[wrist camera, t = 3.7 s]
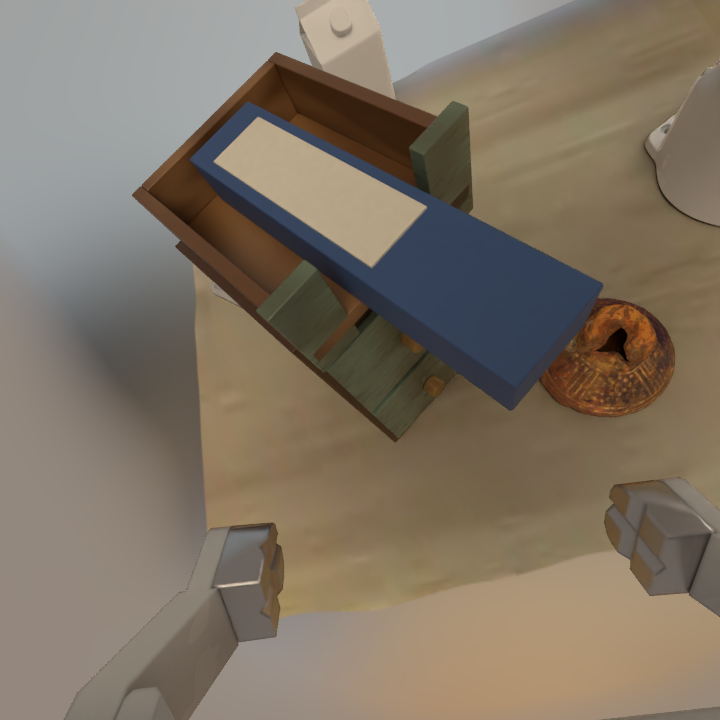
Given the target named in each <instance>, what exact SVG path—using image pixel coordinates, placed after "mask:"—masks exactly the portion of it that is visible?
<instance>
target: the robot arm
mask: <svg viewBox="0 0 720 720" xmlns="http://www.w3.org/2000/svg"><path fill="white" fill-rule="evenodd" d="M645 148H646V150H647V151H648V153H649V154H650V156H651V157H652V158H653V160H654V161H655V163H656V169H657V179H658V183H659V186H660V188H661V190H662V192H663V194H664V195H665V197H666V198H667V199H668V200H669V201H670V202H671V203H672V204H673V205H674V206H675V207H676V208H678V209H679V210H680V211H682V212H683V213H685V214H687V215H689V216H691V217H693V218H695V219H697V220H700V221H703V222H706V223H709V224H713V225H717V226H720V59H719V60H718V62H717V63H716V65H715V66H714V67H708V68H707V69H706V70H705V71H704V72H703V74H702V75H701V76H700V77H698V78H697V79H696V80H695V81H694V83H693V84H692V86H691V88H690V89H689V91H688V93H687V95H686V97H685V99H684V101H683V103H682V105H681V106H680V108H679V110H678V112H677V113H676V114H674V115H673V116H672V117H671V118H669V119H668V120H667V121H666V122H664V123H663V124H662V125H660V126H659V127H658V128H657V129H655V130H654V131H653V132H652V133H651V134H650V135H649V137H648V138H647V140H646V142H645ZM609 498H610V499H611V501H612V502H613V503H614V504H613V505H612V506H611V507H610V508H609V509H608V510H607V511H606V514H605V521H604V523H605V528H606V533H607V535H608V537H609V540H610V542H611V543H612V545H613V546H614V548H615V549H616V551H617V552H618V553H620V554H621V555H623V556H625V557H626V558H628V559H630V570H631V571H632V573H633V574H634V575H635V577H636V578H637V579H638V581H639V582H640V584H641V585H642V586H643V588H644V589H645V590H646V592H647V593H648V594H649V596H655V595H668V594H680V593H689V596H691V597H692V598H694V599H695V600H697V601H698V602H699V603H701V604H702V605H704V606H705V607H706V608H708V609H709V610H711V611H712V612H714V613H715V614H717V615H718V616H719V617H720V510H719V509H718V508H717V507H716V506H715V505H713V504H712V503H711V502H710V501H709V500H708V499H707V498H706V497H705V496H703V495H702V494H701V493H700V492H699V491H698V490H697V489H696V488H694V487H693V486H692V485H691V484H690V483H689V482H688V481H686V480H685V479H682V478H680V477H676V478H668V479H659V480H650V481H642V482H634V483H625V484H617V485H614V486H613V487H612V489H611V491H610V495H609ZM277 536H278V532H277V529H276V525H275V523H261V524H249V525H237V526H230V527H218V528H211V529H210V530H209V531H208V533H207V534H206V536H205V539H204V542H203V545H202V548H201V551H200V553H199V556H198V559H197V561H196V564H195V567H194V570H193V572H192V575H191V578H190V581H189V583H188V586H187V589H186V591H184V592H179V593H178V594H177V595H176V596H175V597H174V598H173V599H172V600H171V601H170V602H169V603H168V604H167V605H166V606H165V607H164V608H163V609H161V610H160V612H159V613H157V615H156V616H155V617H153V618H152V619H151V620H150V621H149V622H148V623H147V624H146V625H145V626H144V627H143V628H142V629H141V630H140V631H139V632H138V633H137V634H136V635H135V636H134V637H133V638H132V639H131V640H130V641H129V642H128V643H127V644H126V645H125V646H124V647H123V648H122V649H121V650H120V651H119V652H118V653H117V654H116V655H115V656H114V657H113V658H112V659H111V660H110V661H109V662H108V663H107V664H106V665H105V666H104V667H103V668H102V669H101V670H100V671H99V672H98V673H97V674H96V675H95V676H94V677H93V678H92V679H91V680H90V681H89V682H88V683H87V684H86V685H85V686H84V687H83V688H82V689H81V690H80V691H79V692H78V693H77V694H76V696H75V698H74V700H73V702H72V704H71V706H70V708H69V710H68V712H67V714H66V716H65V718H64V720H189V718H190V717H191V715H192V714H193V712H194V711H195V709H196V708H197V706H198V705H199V703H200V702H201V700H202V699H203V697H204V696H205V694H206V693H207V691H208V690H209V688H210V687H211V685H212V684H213V682H214V680H215V679H216V678H217V676H218V675H219V673H220V672H221V670H222V669H223V667H224V666H225V664H226V663H227V661H228V660H229V658H230V657H231V655H232V654H233V652H234V651H235V649H236V648H237V646H238V642H244V641H251V640H258V639H265V638H273V637H276V635H277V627H278V621H279V613H280V605H279V601H278V597H277V596H278V594H279V593H280V592H281V591H282V589H283V582H284V558H283V552H282V548H281V546H279V545H278V544H277ZM602 720H720V707H712V708H702V709H693V710H684V711H675V712H667V713H657V714H647V715H638V716H630V717H620V718H611V719H602Z"/></svg>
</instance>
